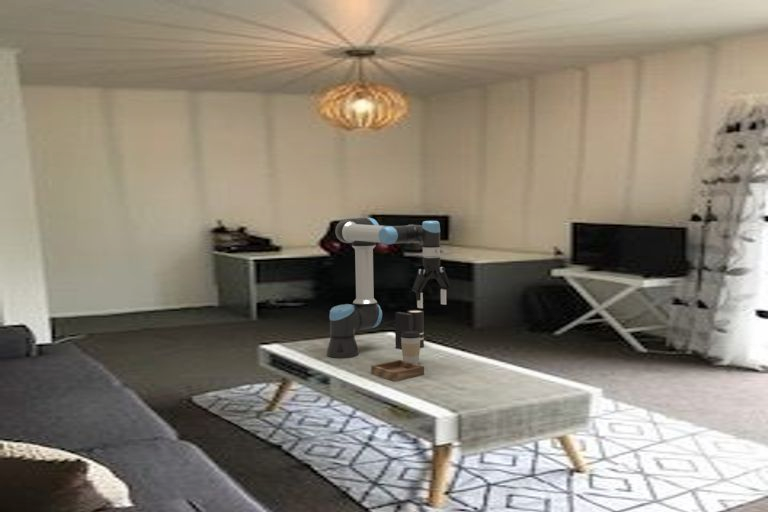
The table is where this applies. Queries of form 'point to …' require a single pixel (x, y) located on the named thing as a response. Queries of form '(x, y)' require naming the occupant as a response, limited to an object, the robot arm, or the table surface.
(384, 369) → the tray
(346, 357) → the robot arm
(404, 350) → the coffee cup
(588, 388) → the table surface
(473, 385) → the table surface
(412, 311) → the light fixture
